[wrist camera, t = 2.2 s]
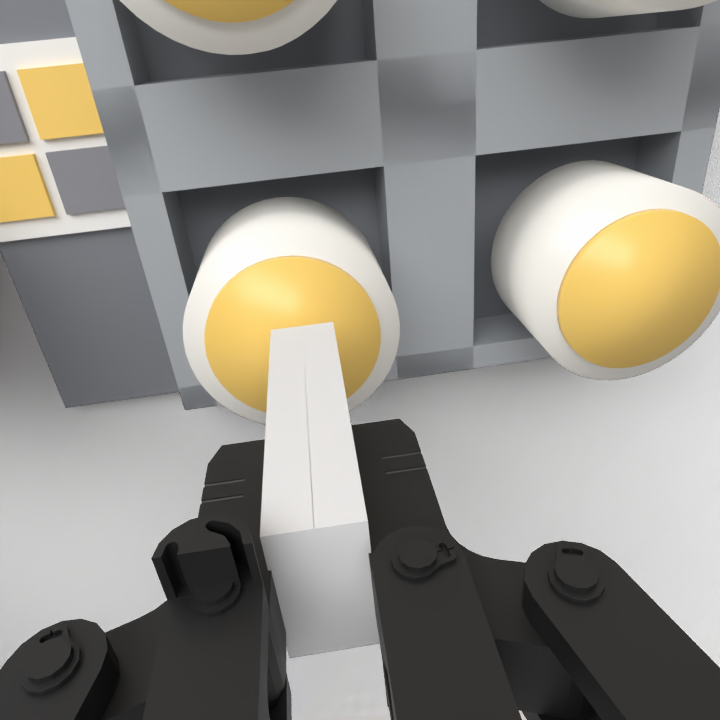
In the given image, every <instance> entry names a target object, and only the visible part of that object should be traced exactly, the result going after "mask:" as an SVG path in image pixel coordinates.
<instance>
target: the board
mask: <svg viewBox="0 0 720 720" xmlns="http://www.w3.org/2000/svg"><path fill="white" fill-rule="evenodd" d="M719 108H720V0H717V1H715V2H712V3H709V4H706V5H703V6H700V7H695V8H690V9H684V10H676V11H665V12H655V13H645V14H635V15H624V16H614V17H604V18H577V17H571V16H568V15H565V14H561V13H559V12H557V11H555V10H553V9H551V8H549V7H548V6H546V5H545V4H544V3H542V2H541V1H540V0H337V1H336V2H335V4H334V5H333V6H332V7H331V9H330V10H329V11H328V13H327V14H326V15H325V16H324V17H322V18H321V19H320V20H319V21H318V22H317V23H316V24H315V25H314V26H313V27H312V28H310V29H309V30H307V31H306V32H305V33H303V34H302V35H301V36H299V37H298V38H296V39H294V40H292V41H290V42H288V43H286V44H284V45H283V46H280V47H277V48H274V49H272V50H269V51H264V52H258V53H253V54H244V55H226V54H217V53H210V52H206V51H202V50H198V49H194V48H191V47H189V46H186V45H184V44H181V43H179V42H176V41H174V40H172V39H170V38H169V37H167V36H165V35H163V34H161V33H160V32H158V31H156V30H154V29H153V28H152V27H150V26H149V25H148V24H146V23H145V22H144V21H142V20H141V19H139V18H138V17H137V16H136V15H135V14H134V13H133V12H131V11H130V10H129V9H128V8H127V7H126V6H125V5H124V4H123V3H122V2H121V1H120V0H0V251H1V253H2V256H3V258H4V261H5V263H6V265H7V268H8V270H9V273H10V275H11V277H12V280H13V282H14V285H15V287H16V289H17V292H18V294H19V297H20V299H21V301H22V304H23V306H24V309H25V311H26V313H27V316H28V318H29V321H30V323H31V325H32V328H33V330H34V333H35V335H36V337H37V340H38V342H39V345H40V347H41V349H42V352H43V354H44V357H45V359H46V361H47V364H48V366H49V369H50V371H51V373H52V376H53V378H54V381H55V383H56V385H57V388H58V390H59V393H60V395H61V397H62V400H63V402H64V405H65V407H66V408H69V407H76V406H83V405H90V404H97V403H104V402H111V401H118V400H125V399H132V398H139V397H146V396H153V395H160V394H168V393H175V392H180V395H181V399H182V402H183V406H184V409H185V410H190V409H197V408H204V407H211V406H218V405H221V404H220V403H219V402H218V401H217V400H215V399H214V398H213V397H212V396H211V395H210V394H209V393H208V392H207V391H206V390H205V389H204V387H203V386H202V385H201V383H200V382H199V381H198V379H197V378H196V376H195V374H194V372H193V370H192V368H191V367H190V364H189V361H188V359H187V356H186V352H185V347H184V342H183V319H184V313H185V309H186V305H187V301H188V298H189V296H190V293H191V290H192V287H193V284H194V282H195V279H196V276H197V273H198V270H199V268H200V265H201V262H202V259H203V256H204V253H205V251H206V249H207V246H208V244H209V242H210V241H211V239H212V237H213V236H214V234H215V233H216V231H217V230H218V229H219V228H220V227H221V225H222V224H223V223H224V222H225V221H227V220H228V219H229V218H230V217H231V216H232V215H234V214H235V213H237V212H238V211H240V210H241V209H243V208H245V207H247V206H249V205H251V204H253V203H256V202H259V201H262V200H266V199H271V198H276V197H299V198H306V199H310V200H315V201H317V202H320V203H323V204H326V205H328V206H330V207H332V208H334V209H336V210H337V211H339V212H340V213H342V214H343V215H344V216H346V217H347V218H348V219H349V220H350V221H352V222H353V223H354V224H355V225H356V226H357V228H358V229H359V230H360V231H361V232H362V234H363V235H364V237H365V238H366V240H367V242H368V243H369V245H370V247H371V249H372V252H373V254H374V256H375V258H376V260H377V262H378V264H379V266H380V268H381V271H382V273H383V275H384V277H385V279H386V281H387V283H388V285H389V288H390V290H391V292H392V294H393V296H394V299H395V302H396V305H397V309H398V314H399V321H400V338H399V344H398V350H397V353H396V356H395V360H394V362H393V364H392V366H391V369H390V371H389V373H388V374H387V376H386V377H385V379H384V381H391V380H398V379H405V378H412V377H418V376H425V375H432V374H439V373H446V372H453V371H460V370H467V369H474V368H481V367H488V366H495V365H502V364H509V363H515V362H522V361H529V360H536V359H543V358H550V357H552V356H551V355H550V354H549V353H548V352H547V351H546V350H545V348H544V347H543V346H542V345H541V344H540V343H539V342H538V341H537V340H536V338H535V337H534V336H533V335H532V334H531V333H530V332H529V331H528V329H527V328H526V327H525V326H524V325H523V324H522V323H521V322H520V321H519V319H518V318H517V317H516V316H515V315H514V314H513V313H512V312H511V310H510V309H509V308H508V307H507V306H506V305H505V303H504V302H503V301H502V299H501V298H500V296H499V294H498V292H497V290H496V288H495V285H494V282H493V277H492V272H491V253H492V246H493V242H494V237H495V235H496V232H497V229H498V226H499V224H500V222H501V220H502V218H503V216H504V215H505V213H506V211H507V210H508V208H509V207H510V205H511V204H512V203H513V201H514V200H515V199H516V198H517V197H518V195H519V194H520V193H521V192H522V191H523V190H524V189H525V188H526V187H527V186H529V185H530V184H531V183H532V182H534V181H535V180H536V179H538V178H539V177H541V176H542V175H544V174H546V173H547V172H549V171H551V170H553V169H555V168H558V167H560V166H563V165H566V164H569V163H573V162H578V161H587V160H598V161H606V162H610V163H614V164H617V165H620V166H623V167H626V168H629V169H632V170H635V171H638V172H641V173H643V174H646V175H649V176H652V177H655V178H658V179H661V180H664V181H667V182H670V183H673V184H676V185H679V186H682V187H685V188H688V189H691V190H693V191H696V192H698V193H700V194H702V190H703V186H704V181H705V176H706V171H707V166H708V161H709V157H710V152H711V147H712V142H713V137H714V132H715V127H716V123H717V118H718V113H719ZM384 381H383V382H384Z"/></svg>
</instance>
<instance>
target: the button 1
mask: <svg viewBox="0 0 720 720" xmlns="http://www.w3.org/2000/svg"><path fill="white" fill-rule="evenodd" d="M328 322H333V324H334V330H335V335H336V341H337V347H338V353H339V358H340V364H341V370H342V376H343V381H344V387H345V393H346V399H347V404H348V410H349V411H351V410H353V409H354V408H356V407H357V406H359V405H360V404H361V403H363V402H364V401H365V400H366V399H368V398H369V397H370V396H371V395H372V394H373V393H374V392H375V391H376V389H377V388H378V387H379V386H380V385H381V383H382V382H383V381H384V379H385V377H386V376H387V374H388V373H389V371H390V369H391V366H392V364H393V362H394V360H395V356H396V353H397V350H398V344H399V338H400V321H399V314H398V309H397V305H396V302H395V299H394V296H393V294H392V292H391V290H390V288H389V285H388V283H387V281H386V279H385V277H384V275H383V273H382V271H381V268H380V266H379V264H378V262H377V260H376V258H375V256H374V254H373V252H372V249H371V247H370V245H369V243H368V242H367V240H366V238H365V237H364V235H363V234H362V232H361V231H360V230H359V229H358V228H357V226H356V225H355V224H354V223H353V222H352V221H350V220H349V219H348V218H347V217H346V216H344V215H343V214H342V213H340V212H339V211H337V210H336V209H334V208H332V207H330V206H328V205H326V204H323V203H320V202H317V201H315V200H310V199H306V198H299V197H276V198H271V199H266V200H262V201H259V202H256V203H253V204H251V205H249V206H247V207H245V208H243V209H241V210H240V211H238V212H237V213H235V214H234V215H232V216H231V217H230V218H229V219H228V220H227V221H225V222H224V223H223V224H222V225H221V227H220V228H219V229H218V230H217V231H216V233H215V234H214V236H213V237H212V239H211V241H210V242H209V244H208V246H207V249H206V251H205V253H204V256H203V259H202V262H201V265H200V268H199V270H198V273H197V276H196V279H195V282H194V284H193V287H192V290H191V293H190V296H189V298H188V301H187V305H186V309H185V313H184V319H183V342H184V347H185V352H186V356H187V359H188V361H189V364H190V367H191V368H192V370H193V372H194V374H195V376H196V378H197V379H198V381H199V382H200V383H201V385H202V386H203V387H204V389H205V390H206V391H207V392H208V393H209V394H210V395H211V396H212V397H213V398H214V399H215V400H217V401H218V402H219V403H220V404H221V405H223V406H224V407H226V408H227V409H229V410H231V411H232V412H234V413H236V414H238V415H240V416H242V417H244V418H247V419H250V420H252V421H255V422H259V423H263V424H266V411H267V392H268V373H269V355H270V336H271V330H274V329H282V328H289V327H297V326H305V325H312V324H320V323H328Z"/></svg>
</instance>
